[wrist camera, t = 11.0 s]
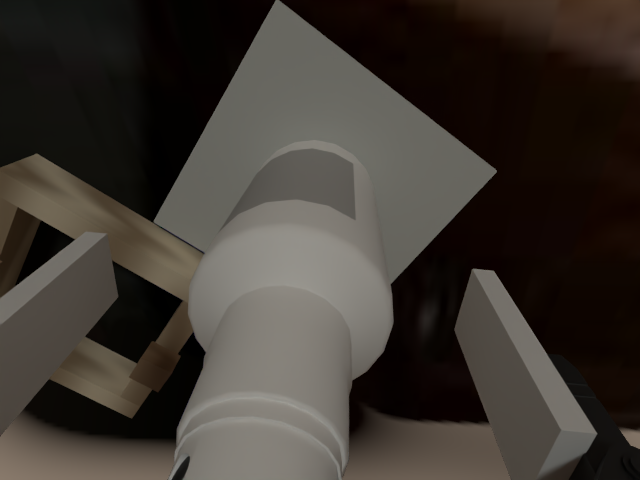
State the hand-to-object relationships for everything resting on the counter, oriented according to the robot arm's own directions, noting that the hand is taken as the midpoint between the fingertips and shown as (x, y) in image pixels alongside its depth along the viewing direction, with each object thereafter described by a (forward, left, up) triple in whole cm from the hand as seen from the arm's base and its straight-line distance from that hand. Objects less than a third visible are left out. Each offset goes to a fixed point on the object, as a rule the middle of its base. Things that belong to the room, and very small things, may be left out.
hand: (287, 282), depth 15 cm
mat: (0, 0, -10) cm, 10 cm away
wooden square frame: (-8, -14, -10) cm, 19 cm away
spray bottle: (0, 0, -9) cm, 9 cm away
